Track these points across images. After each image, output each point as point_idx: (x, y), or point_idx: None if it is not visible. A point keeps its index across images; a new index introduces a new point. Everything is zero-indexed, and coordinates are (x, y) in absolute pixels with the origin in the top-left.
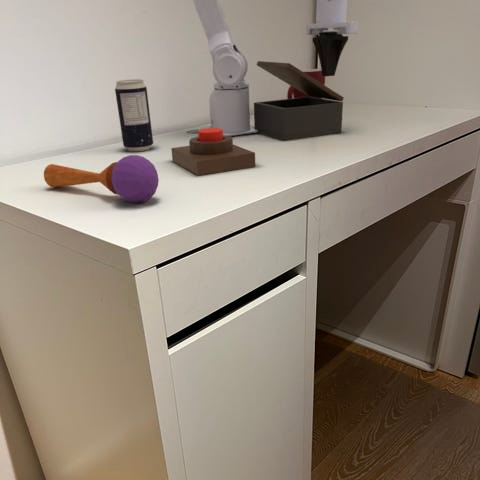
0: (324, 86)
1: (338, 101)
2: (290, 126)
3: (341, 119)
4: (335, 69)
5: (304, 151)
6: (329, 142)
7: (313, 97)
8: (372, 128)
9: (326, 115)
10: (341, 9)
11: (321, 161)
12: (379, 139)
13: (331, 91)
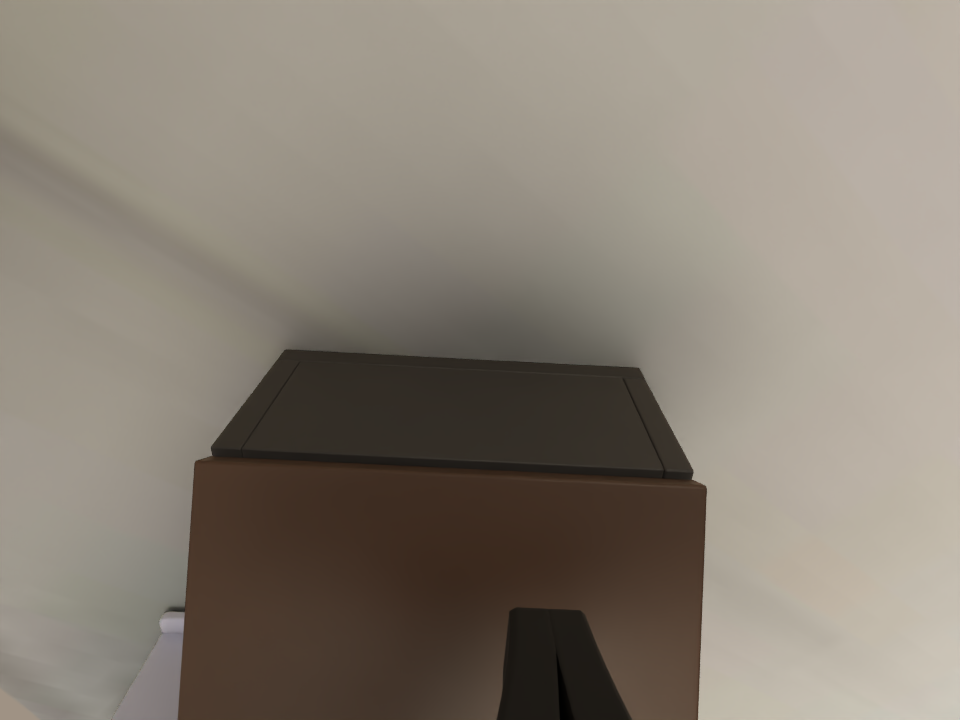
0: (697, 701)
1: (640, 472)
2: None
3: (658, 409)
4: (603, 667)
5: (795, 656)
6: (763, 531)
7: (286, 454)
8: (688, 127)
9: None
10: None
11: (944, 686)
12: (937, 342)
13: (698, 619)
